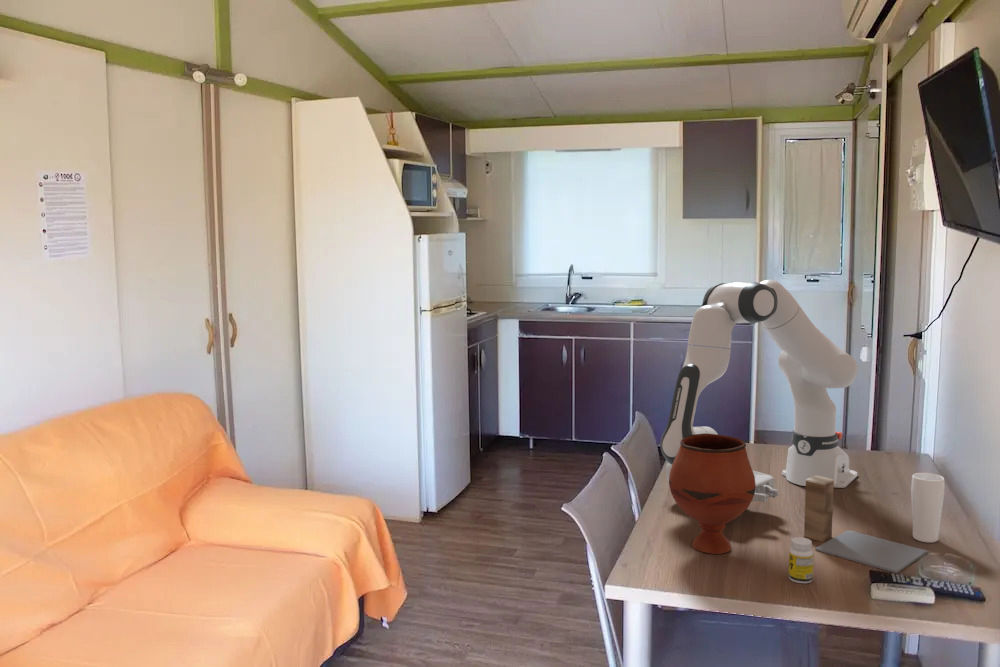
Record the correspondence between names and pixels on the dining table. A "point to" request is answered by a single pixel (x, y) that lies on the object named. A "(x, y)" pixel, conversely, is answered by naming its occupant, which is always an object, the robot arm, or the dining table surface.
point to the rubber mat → (872, 551)
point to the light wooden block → (818, 508)
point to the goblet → (712, 485)
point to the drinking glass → (926, 505)
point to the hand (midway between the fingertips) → (771, 496)
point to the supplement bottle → (801, 560)
